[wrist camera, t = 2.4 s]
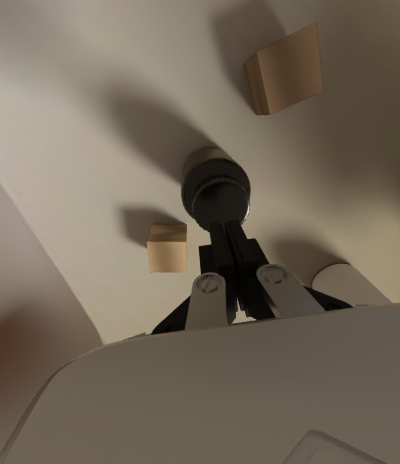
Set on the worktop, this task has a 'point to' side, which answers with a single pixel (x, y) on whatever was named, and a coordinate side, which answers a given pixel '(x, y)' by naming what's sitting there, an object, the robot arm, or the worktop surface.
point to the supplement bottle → (214, 188)
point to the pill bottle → (348, 286)
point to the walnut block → (285, 72)
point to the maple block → (167, 248)
